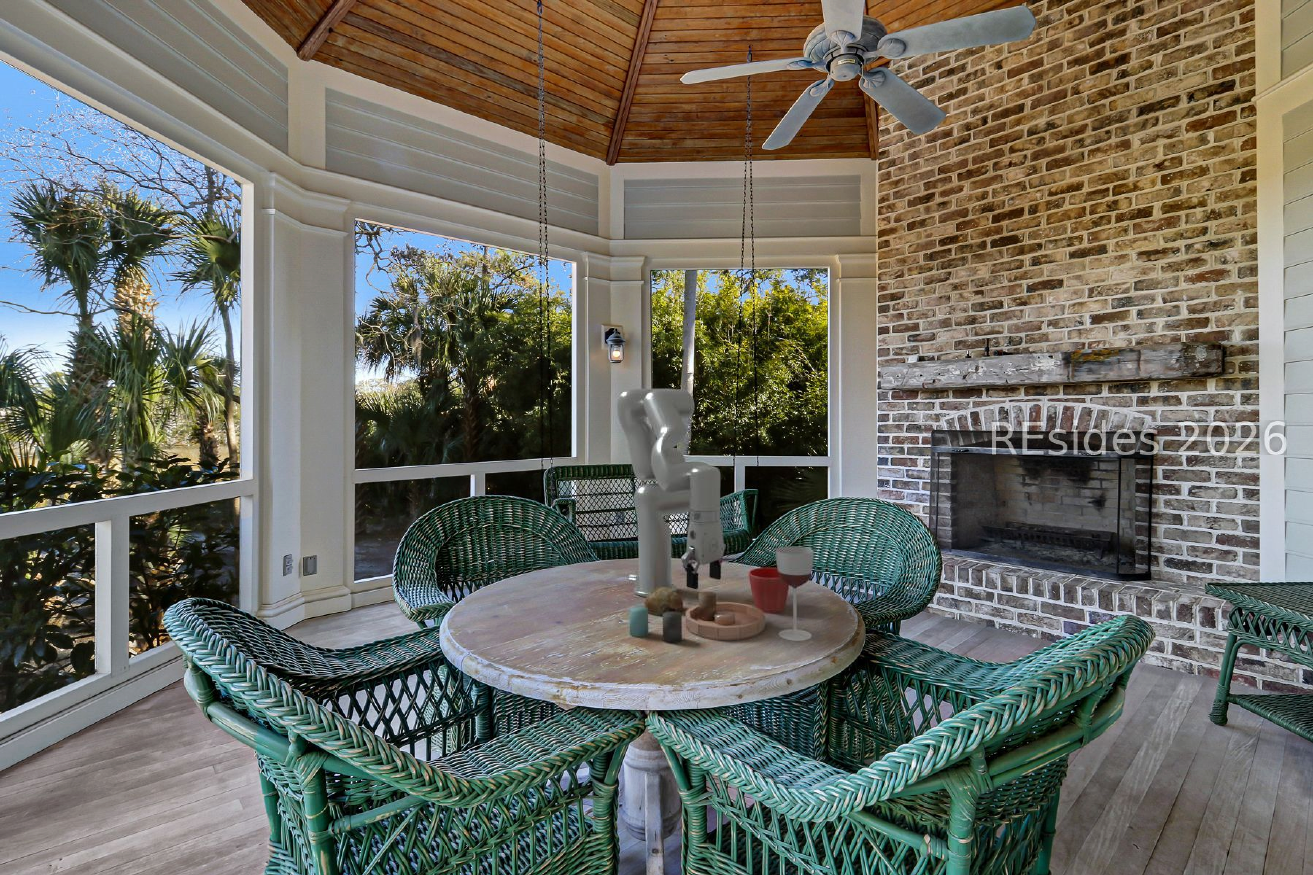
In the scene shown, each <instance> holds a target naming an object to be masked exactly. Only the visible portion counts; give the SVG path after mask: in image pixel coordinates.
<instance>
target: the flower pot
mask: <svg viewBox="0 0 1313 875" xmlns="http://www.w3.org/2000/svg"><path fill="white" fill-rule="evenodd" d="M748 578H749V583H750V589H751V590H750V591H751V595H752V600H753V604H754V607H756V608H758V609H760V610H762V611H763V613H764V614H765V613H767V614H775V613H779V612H780V613H781V612H784V611H785V609H786V604H787V599H788V593H789V589H790V585H788V584H786V583H785V582H783V581H782V580H781V578H780V576H779V573H778V568H777V567H758V568H753V569H751V570H749V572H748Z"/></svg>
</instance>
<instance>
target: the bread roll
mask: <svg viewBox="0 0 1313 875" xmlns="http://www.w3.org/2000/svg"><path fill="white" fill-rule="evenodd" d="M643 604H644V607H647V608H648V614H651V615H654V616H661V617H663V613H666V612H679V613H681V612H682V611H683V609H684V602H683V599H682V597H681V596H680V595H679V594H678V592H676V591H675V590H674V589H671V588H667V587H659V588H657V589H655V590H654V591H652V592H651V593H650V594H649V596H648V597H645V599H644V603H643Z"/></svg>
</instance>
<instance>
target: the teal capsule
mask: <svg viewBox="0 0 1313 875" xmlns="http://www.w3.org/2000/svg"><path fill="white" fill-rule="evenodd" d="M628 610H629V613H628V614H629V635H630V637H634V638H644V637H647V636H649V613H648V608H647V607H645V606H642V605H640V606H639V605H637V606H632V607H629V609H628Z"/></svg>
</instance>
